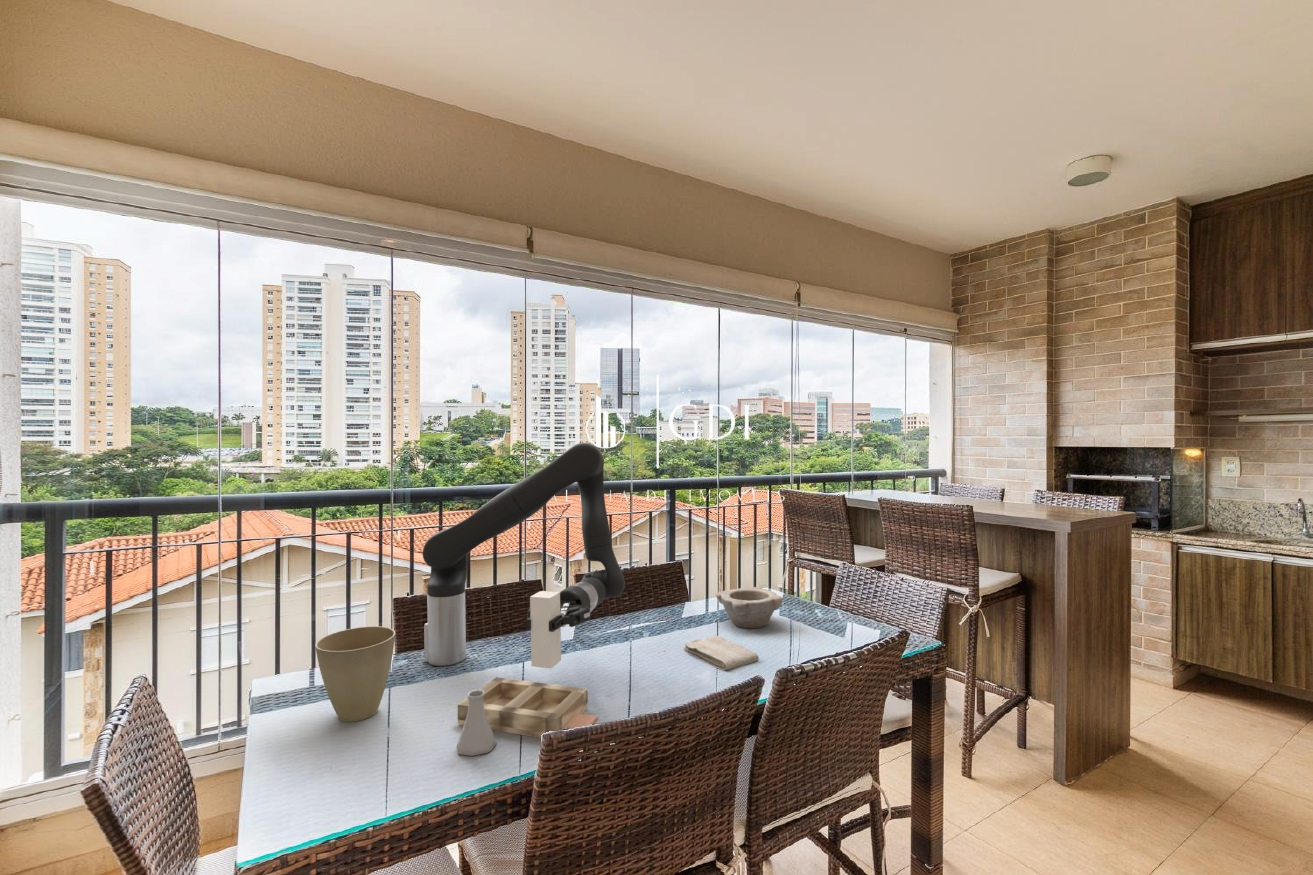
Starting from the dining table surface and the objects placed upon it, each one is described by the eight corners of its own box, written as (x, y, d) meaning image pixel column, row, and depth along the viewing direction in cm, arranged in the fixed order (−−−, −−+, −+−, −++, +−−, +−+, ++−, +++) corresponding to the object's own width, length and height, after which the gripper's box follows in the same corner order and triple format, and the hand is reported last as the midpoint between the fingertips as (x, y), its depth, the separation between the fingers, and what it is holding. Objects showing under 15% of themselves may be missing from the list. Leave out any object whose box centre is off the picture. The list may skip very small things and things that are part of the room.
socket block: (457, 724, 120) (457, 704, 120) (496, 695, 134) (496, 677, 133) (576, 743, 112) (576, 721, 112) (605, 710, 126) (605, 691, 126)
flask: (461, 737, 115) (460, 685, 115) (499, 735, 116) (499, 684, 115) (451, 758, 108) (451, 702, 108) (492, 756, 108) (492, 700, 108)
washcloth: (714, 642, 167) (714, 631, 167) (761, 662, 152) (760, 650, 152) (680, 652, 160) (680, 640, 160) (725, 673, 145) (725, 660, 145)
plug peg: (531, 666, 121) (530, 596, 120) (542, 658, 125) (540, 590, 125) (551, 668, 119) (549, 598, 119) (561, 660, 123) (559, 592, 123)
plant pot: (341, 697, 133) (341, 625, 133) (408, 698, 132) (407, 626, 132) (299, 731, 118) (298, 650, 118) (374, 732, 117) (373, 650, 117)
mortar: (712, 618, 187) (712, 589, 187) (762, 613, 192) (762, 584, 192) (734, 635, 171) (734, 603, 171) (787, 629, 176) (787, 598, 176)
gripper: (547, 583, 138) (507, 604, 121) (605, 587, 133) (571, 609, 117) (547, 616, 138) (507, 641, 121) (605, 621, 134) (572, 647, 117)
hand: (539, 625), depth 119 cm, fingers closed on plug peg, 4 cm apart
